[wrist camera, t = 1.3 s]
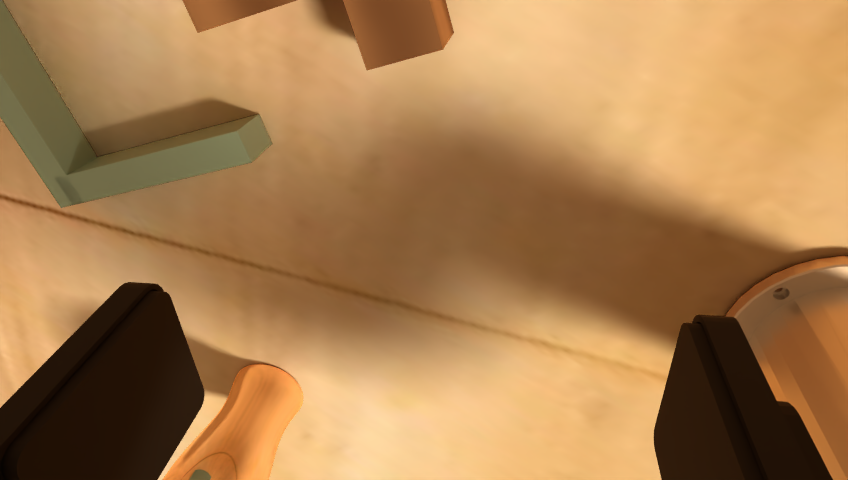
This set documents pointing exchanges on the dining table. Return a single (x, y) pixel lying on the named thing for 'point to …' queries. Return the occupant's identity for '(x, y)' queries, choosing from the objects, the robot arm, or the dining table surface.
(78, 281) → the dining table surface
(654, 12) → the dining table surface
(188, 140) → the frame
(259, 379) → the beer glass
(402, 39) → the t block
